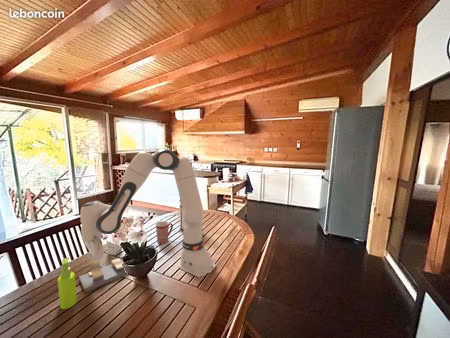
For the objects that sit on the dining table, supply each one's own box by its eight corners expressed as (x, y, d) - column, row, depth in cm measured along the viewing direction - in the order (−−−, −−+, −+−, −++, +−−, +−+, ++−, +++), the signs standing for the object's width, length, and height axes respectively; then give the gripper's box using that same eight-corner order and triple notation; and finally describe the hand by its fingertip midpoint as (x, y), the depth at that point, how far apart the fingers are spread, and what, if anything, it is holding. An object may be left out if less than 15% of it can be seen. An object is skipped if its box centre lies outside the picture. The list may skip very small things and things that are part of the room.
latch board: (134, 270, 112) (134, 266, 111) (85, 292, 95) (84, 287, 95) (126, 261, 120) (125, 257, 120) (79, 279, 103) (79, 274, 103)
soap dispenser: (77, 295, 94) (74, 255, 91) (76, 305, 88) (72, 263, 85) (61, 300, 91) (57, 258, 88) (59, 311, 85) (54, 267, 82)
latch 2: (126, 268, 109) (126, 266, 109) (117, 272, 106) (117, 269, 106) (119, 259, 116) (119, 257, 116) (111, 262, 113) (110, 260, 113)
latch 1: (103, 278, 102) (103, 277, 101) (93, 282, 99) (93, 281, 98) (97, 258, 106) (98, 257, 106) (88, 262, 103) (88, 260, 102)
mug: (159, 245, 138) (159, 227, 136) (153, 241, 145) (153, 223, 143) (175, 240, 147) (175, 222, 145) (169, 235, 153) (169, 218, 151)
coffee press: (201, 229, 166) (201, 193, 161) (183, 234, 155) (183, 197, 151) (190, 222, 179) (190, 189, 174) (173, 226, 169) (173, 192, 164)
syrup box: (115, 255, 126) (114, 233, 124) (107, 254, 127) (106, 232, 125) (121, 250, 131) (120, 229, 129) (113, 249, 132) (112, 228, 130)
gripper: (106, 238, 96) (107, 265, 98) (94, 225, 110) (95, 248, 112) (90, 243, 91) (92, 271, 93) (80, 228, 105) (82, 253, 107)
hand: (94, 258), depth 103 cm, fingers closed
